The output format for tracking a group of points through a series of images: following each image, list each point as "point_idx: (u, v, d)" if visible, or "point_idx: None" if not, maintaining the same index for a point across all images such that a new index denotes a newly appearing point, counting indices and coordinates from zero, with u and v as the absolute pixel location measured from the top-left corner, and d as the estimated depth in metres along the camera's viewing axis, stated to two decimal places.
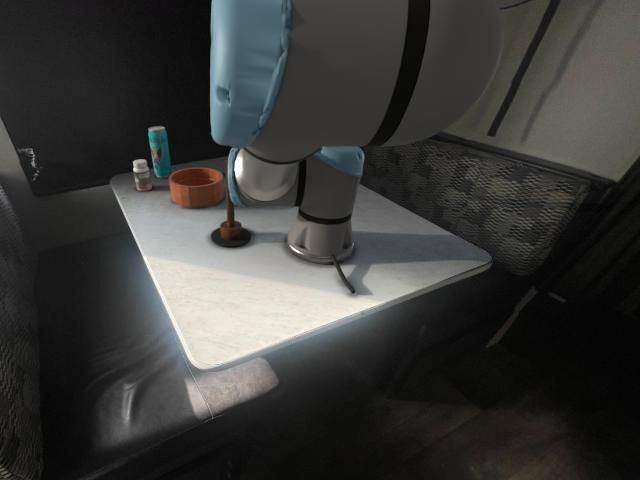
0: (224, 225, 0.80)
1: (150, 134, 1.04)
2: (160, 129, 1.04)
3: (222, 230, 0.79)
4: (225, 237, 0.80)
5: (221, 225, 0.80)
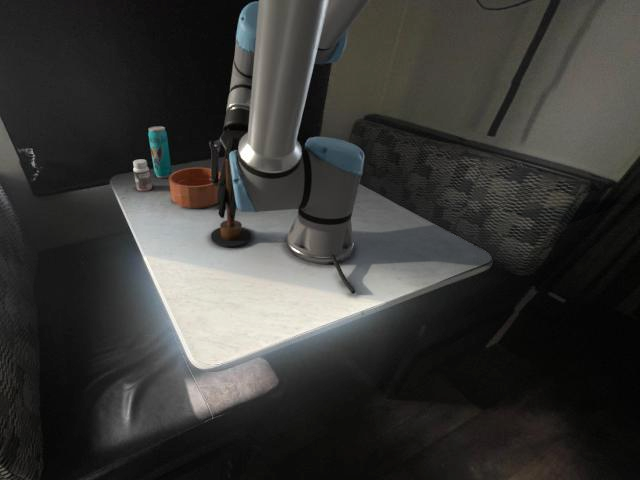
0: (224, 225, 0.80)
1: (150, 134, 1.04)
2: (160, 129, 1.04)
3: (222, 230, 0.79)
4: (225, 237, 0.80)
5: (221, 225, 0.80)
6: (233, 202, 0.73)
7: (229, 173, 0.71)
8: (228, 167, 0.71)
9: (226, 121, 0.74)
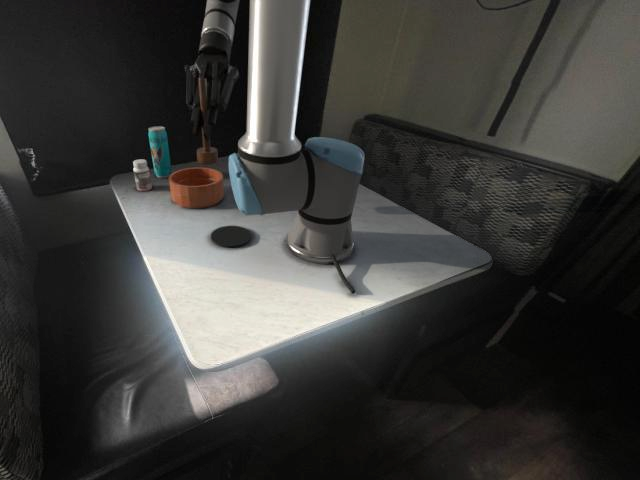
0: (200, 150, 0.84)
1: (150, 134, 1.04)
2: (160, 129, 1.04)
3: (198, 154, 0.83)
4: (201, 161, 0.83)
5: (197, 150, 0.84)
6: (207, 122, 0.77)
7: (202, 92, 0.75)
8: (201, 85, 0.74)
9: (200, 45, 0.77)
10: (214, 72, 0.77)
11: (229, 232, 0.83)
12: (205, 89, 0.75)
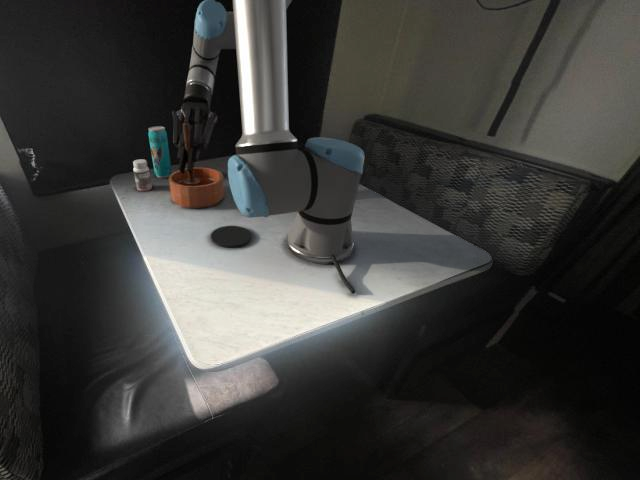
0: (185, 181, 0.98)
1: (150, 134, 1.04)
2: (160, 129, 1.04)
3: (184, 184, 0.97)
4: None
5: (183, 181, 0.98)
6: (190, 159, 0.91)
7: (186, 135, 0.89)
8: (185, 130, 0.89)
9: (185, 94, 0.92)
10: (196, 117, 0.92)
11: (229, 232, 0.83)
12: (188, 132, 0.89)
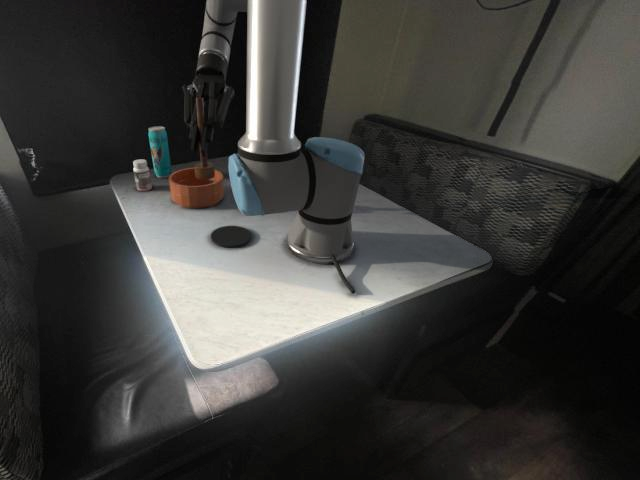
0: (197, 165, 0.87)
1: (150, 134, 1.04)
2: (160, 129, 1.04)
3: (196, 169, 0.86)
4: (199, 176, 0.86)
5: (195, 165, 0.87)
6: (204, 139, 0.80)
7: (199, 111, 0.78)
8: (198, 105, 0.77)
9: (198, 66, 0.81)
10: (211, 92, 0.80)
11: (229, 232, 0.83)
12: (202, 108, 0.78)
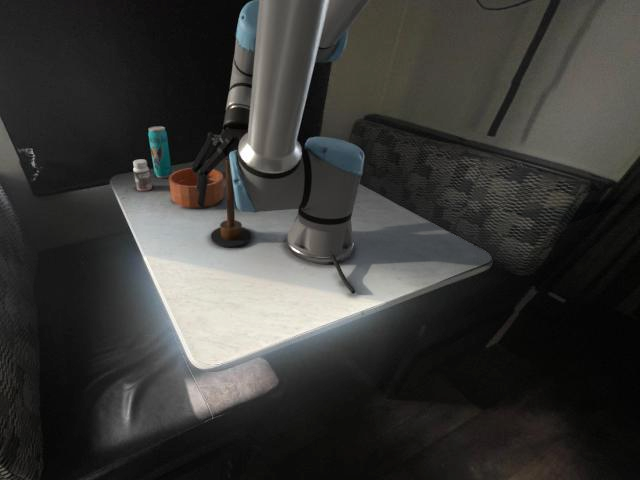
0: (224, 225, 0.80)
1: (150, 134, 1.04)
2: (160, 129, 1.04)
3: (222, 230, 0.80)
4: (225, 237, 0.80)
5: (221, 225, 0.80)
6: None
7: (229, 173, 0.72)
8: (228, 167, 0.71)
9: (226, 120, 0.74)
10: None
11: None
12: None
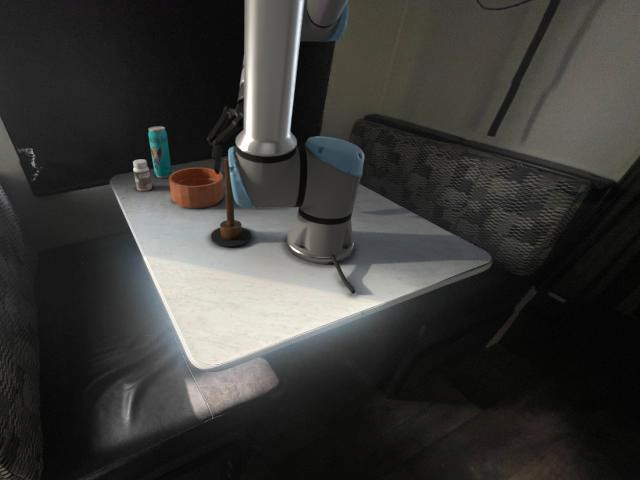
0: (224, 225, 0.80)
1: (150, 134, 1.04)
2: (160, 129, 1.04)
3: (222, 229, 0.80)
4: (225, 236, 0.80)
5: (221, 225, 0.80)
6: None
7: (228, 172, 0.72)
8: (227, 166, 0.71)
9: (240, 95, 0.82)
10: None
11: None
12: None
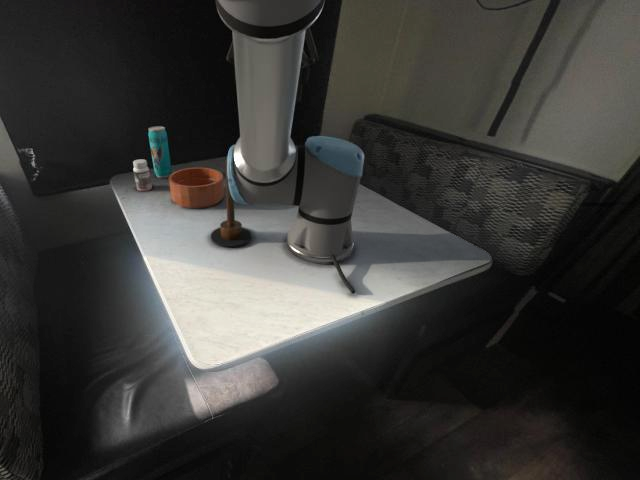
0: (224, 225, 0.80)
1: (150, 134, 1.04)
2: (160, 129, 1.04)
3: (222, 230, 0.80)
4: (225, 237, 0.80)
5: (221, 225, 0.80)
6: (300, 87, 0.75)
7: None
8: None
9: None
10: None
11: None
12: None
